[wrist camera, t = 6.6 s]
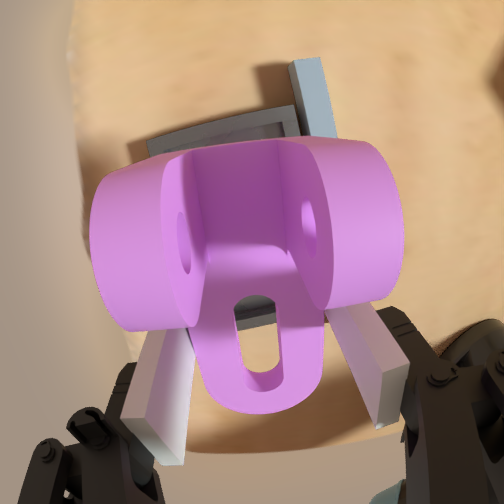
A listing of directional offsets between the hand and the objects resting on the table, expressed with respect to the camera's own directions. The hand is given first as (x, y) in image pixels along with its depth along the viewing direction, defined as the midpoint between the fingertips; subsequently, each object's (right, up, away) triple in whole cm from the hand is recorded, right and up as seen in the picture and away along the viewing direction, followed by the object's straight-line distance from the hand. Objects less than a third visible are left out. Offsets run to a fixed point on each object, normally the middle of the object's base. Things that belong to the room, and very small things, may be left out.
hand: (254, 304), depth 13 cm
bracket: (0, 0, +1) cm, 1 cm away
